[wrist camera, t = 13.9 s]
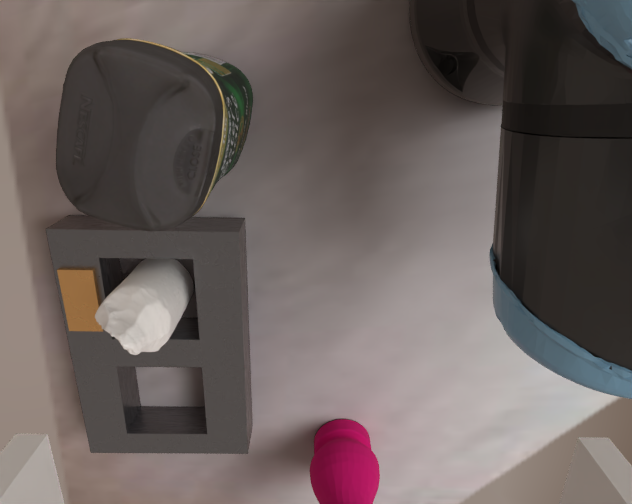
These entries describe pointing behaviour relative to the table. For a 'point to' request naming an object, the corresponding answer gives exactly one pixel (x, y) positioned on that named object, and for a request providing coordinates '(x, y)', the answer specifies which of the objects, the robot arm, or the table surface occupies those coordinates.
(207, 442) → the hole plate
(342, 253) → the table surface
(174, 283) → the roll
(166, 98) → the coffee jar
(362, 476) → the pepper mill
